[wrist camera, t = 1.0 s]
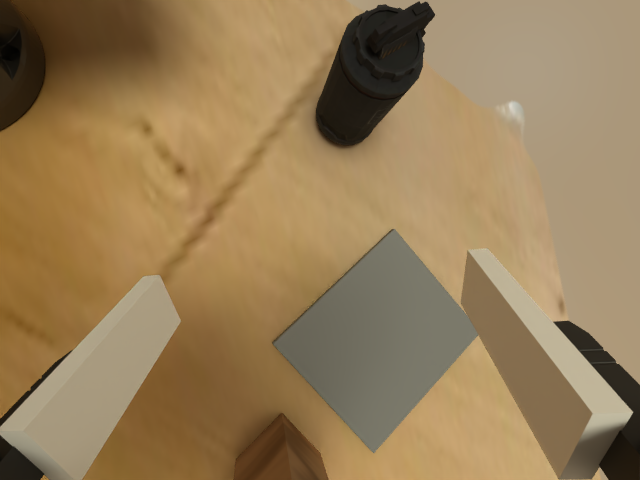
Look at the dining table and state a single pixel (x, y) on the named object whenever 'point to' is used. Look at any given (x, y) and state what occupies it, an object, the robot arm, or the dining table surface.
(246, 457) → the block
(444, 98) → the dining table surface
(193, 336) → the dining table surface
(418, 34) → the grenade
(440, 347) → the mat
